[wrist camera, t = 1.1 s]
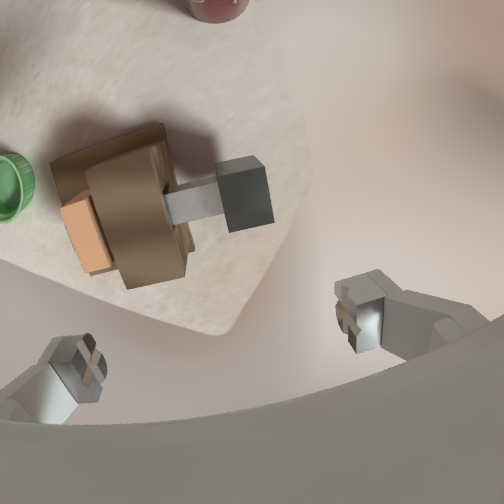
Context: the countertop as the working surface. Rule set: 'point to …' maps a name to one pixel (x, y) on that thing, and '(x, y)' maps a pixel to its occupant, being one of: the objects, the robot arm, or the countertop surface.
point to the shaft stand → (131, 203)
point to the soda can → (216, 9)
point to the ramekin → (14, 186)
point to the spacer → (86, 233)
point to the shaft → (223, 196)
